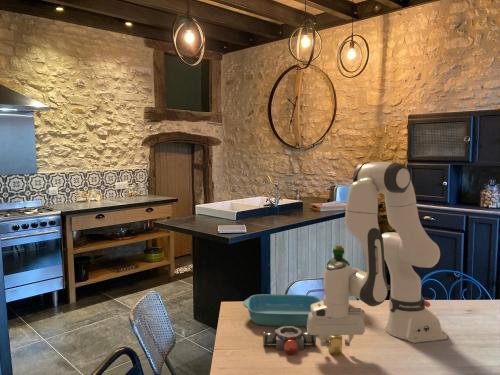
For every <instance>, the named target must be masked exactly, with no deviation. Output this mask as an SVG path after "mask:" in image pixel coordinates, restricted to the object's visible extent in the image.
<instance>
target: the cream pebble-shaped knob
mask: <svg viewBox="0 0 500 375" xmlns="http://www.w3.org/2000/svg"><path fill="white" fill-rule="evenodd" d="M322 340H325V343H329V335H322Z"/></svg>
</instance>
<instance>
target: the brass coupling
mask: <svg viewBox="0 0 500 375" xmlns="http://www.w3.org/2000/svg"><path fill="white" fill-rule="evenodd" d="M328 354H329V355H331V356H333V357H340V356H341V355H342V354H343V335H329V342H328Z"/></svg>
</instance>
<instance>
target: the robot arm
mask: <svg viewBox="0 0 500 375" xmlns="http://www.w3.org/2000/svg"><path fill="white" fill-rule="evenodd" d="M411 176H412V175H411V172H410V170H409V168H408V167H407V166H406V165H405V164H403V163H399V162H390V161H389V162H388V161H373V162H370V161H366V162H362V163H359V164H358V165H357V166H356V167H355V169H354V171H353V176H352V183H351V185H349V189H348V193H347V198H346V203H345V204H346V205H345V214H344V218H345V219H344V220H345V226H346V228H347V230H348V231H349V232H350V234H352V236H354V237H355V238H356V239H357V240H358V242H360V244H361V245H362V247H363V248H364V251H365V259H366V260H365V263H366V271H364V270H362V269H359V268H357V267H353V266H351V265H350V266H348V265H347V264H346V263H344V262H332V263H330V264H328V265H327V264H326V266H325V269H324V273H323V291H324V295H323V298H322V300H323V301H320V302H317V303H314V304H311V306H310V309H311V312H310V313H309V315H308V319H307V326H306V332H308V333H309V334H310V335H316V336H317V337H318V339H319V342H320V344H319V345H320V347H326V342H325V340H322V335H341V336H347V335H348V337H347V339H344V346H345V347H351V342H352V341H353V339H354V335H355V336H362V335H364V334H365V330H366V327H365V318H366V311H365V310H364V309H362V308H361V307H349V306H350V304H349V303H350V302H349V301H350V300H349V298H351V297H354V298H356V299H358V300H360V301H361V302H363V303H364V304H366V306H370V307H372V308H373V307H376V306H379V305H381V304H383V303H385V301H386V299H387V297H388V294H389V286H388V282H387V278H386V265H387V268H388V271H389V275H390V276H389V277H390V294H389V301H388V307H389V309H388V310H389V315H388V318H387V324H386V326H385V331H386V332H387V333H388V334H389V335H391V336H393V337H396V338H398V339H402V340H405V341H408V342H410V343H412V344H413V343H423V342H424V343H425V342H431V341H441V340H442V341H443V340H447V339H448V334H447V332H446V330H445V329H444V328H443V327H442V326H441V321H440V320H439V318H438V317H437V315H435V314H434V313H433V312H431V311H430V310H429V309H428V308H430V307H431V303H430V302H429V301H428V300H425V299H424V298H423V297H421V296H422V280H421V277H420V276H419V274H418V273H417V272H416V271H415V270H414V268H413V266H414V267H417V268H429V269H431V268H433V267H435V266H436V264H438V263H439V260H440V257H441V251H440V247H439V246H438V244H437V243H436V242H435V241H433V240H432V238H430V236H429V235H428V234H427V232H426V231H425V229H424V227H423V226H422V223H421V221H420V217H419V212H418V211H419V210H418V205H417V199H416V197H417V196H416V193H415V187H414V185H413V183H412V180H411V178H412V177H411ZM381 193H384V203H385V210H386V218H387V222H388V225H389V226H390V227H391V228H392V229H393V230H394V231H395V232H391V231H390V232H384V233H381V230H380V227H379V226H380V225H379V220H378V213H379V201H378V200H379V196H380V194H381ZM385 264H386V265H385Z"/></svg>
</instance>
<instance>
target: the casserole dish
mask: <svg viewBox="0 0 500 375" xmlns="http://www.w3.org/2000/svg"><path fill="white" fill-rule="evenodd" d="M320 301H323V298H321V297H318V296H316V295H309V294H279V293H278V294H274V293H273V294H272V293H270V294H268V293H266V294H264V293H261V294H253V295H250V296H249V297H248V298H246V299H245V300H244V301H243V303H242V305H243V307H244V308H246V309H247V310H248V314H249V316H250V319H251V321H252V322H253V323H255V324H256V325H258V326H259V325H260V326H269V327H270V326H271V327H284V326H292V327H293V326H294V327H307V319H308V315H309V313H310V312H311V309H310V306H311V304H314V303H317V302H320Z"/></svg>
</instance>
